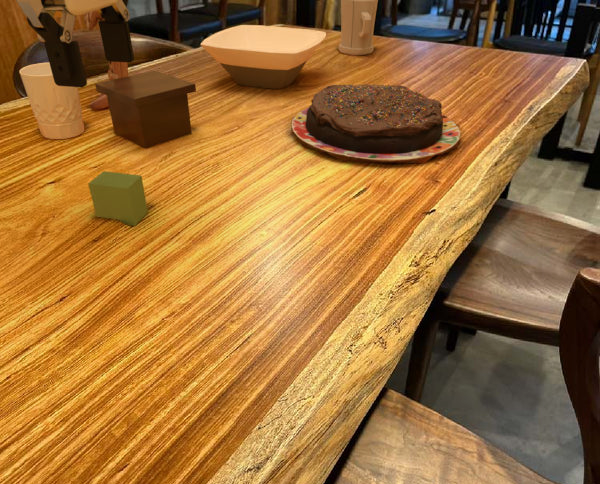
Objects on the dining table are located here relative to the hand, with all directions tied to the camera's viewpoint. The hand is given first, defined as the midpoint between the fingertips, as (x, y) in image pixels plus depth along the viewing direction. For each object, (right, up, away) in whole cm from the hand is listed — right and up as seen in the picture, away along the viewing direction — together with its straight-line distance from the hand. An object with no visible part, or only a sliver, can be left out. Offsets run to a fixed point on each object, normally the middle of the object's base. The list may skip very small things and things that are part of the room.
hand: (97, 72), depth 56 cm
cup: (+36, +39, +79) cm, 95 cm away
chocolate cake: (+34, +4, +34) cm, 48 cm away
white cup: (-18, +4, +33) cm, 38 cm away
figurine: (-14, +13, +45) cm, 50 cm away
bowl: (+14, +23, +58) cm, 64 cm away
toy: (-1, -13, +10) cm, 17 cm away
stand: (-3, +4, +33) cm, 33 cm away
